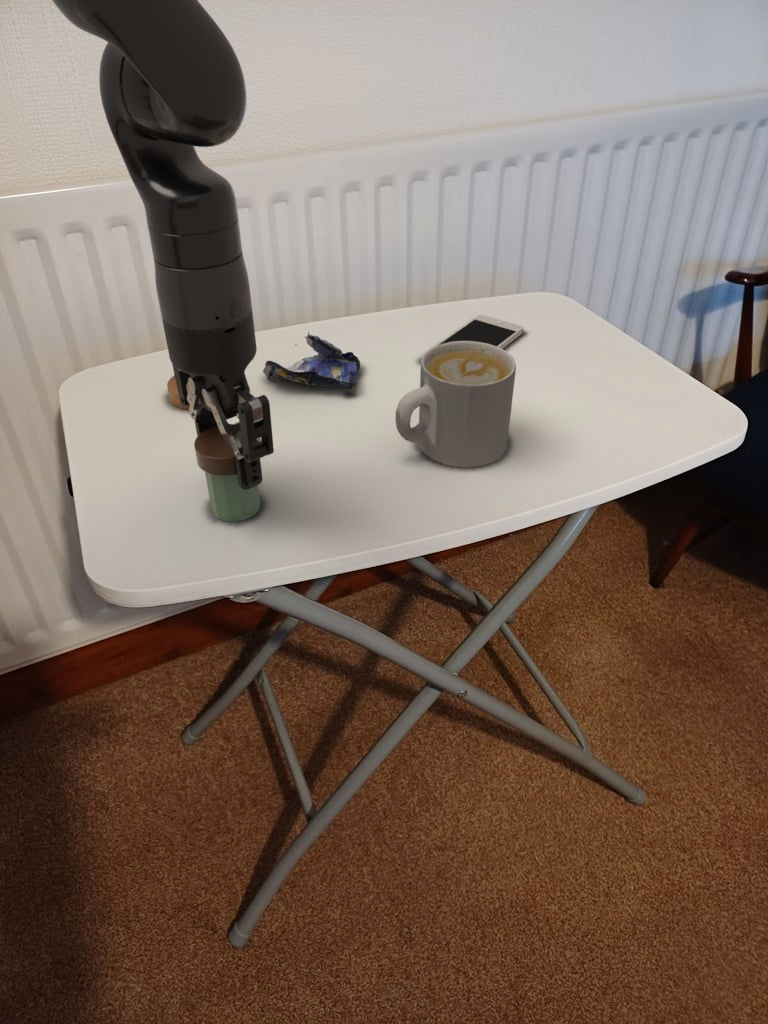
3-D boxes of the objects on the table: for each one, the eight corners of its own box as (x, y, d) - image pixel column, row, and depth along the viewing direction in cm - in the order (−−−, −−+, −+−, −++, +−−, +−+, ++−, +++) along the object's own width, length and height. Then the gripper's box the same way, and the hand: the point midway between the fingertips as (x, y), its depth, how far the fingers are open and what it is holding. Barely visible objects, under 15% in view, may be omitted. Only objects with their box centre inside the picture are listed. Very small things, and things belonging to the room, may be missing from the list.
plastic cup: (245, 526, 77) (238, 476, 73) (203, 515, 78) (194, 466, 74) (268, 498, 80) (263, 449, 76) (227, 488, 82) (220, 440, 78)
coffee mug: (485, 412, 93) (492, 335, 87) (522, 458, 86) (532, 377, 80) (377, 432, 90) (377, 352, 84) (406, 480, 83) (408, 398, 76)
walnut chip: (240, 482, 72) (238, 464, 71) (185, 468, 74) (181, 450, 73) (271, 448, 77) (269, 430, 75) (218, 435, 78) (215, 418, 77)
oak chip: (206, 414, 93) (203, 399, 92) (159, 404, 95) (156, 389, 94) (234, 388, 98) (232, 374, 96) (188, 379, 100) (186, 364, 98)
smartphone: (524, 332, 110) (525, 325, 109) (467, 376, 100) (468, 369, 99) (479, 319, 113) (480, 313, 112) (421, 361, 103) (421, 354, 102)
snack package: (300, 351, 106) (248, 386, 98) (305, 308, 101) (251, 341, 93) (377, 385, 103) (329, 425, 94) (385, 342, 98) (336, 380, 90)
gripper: (128, 291, 68) (162, 448, 79) (208, 350, 60) (234, 519, 70) (205, 270, 72) (227, 423, 82) (291, 323, 63) (304, 487, 74)
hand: (230, 466), depth 76 cm, fingers open, 7 cm apart
